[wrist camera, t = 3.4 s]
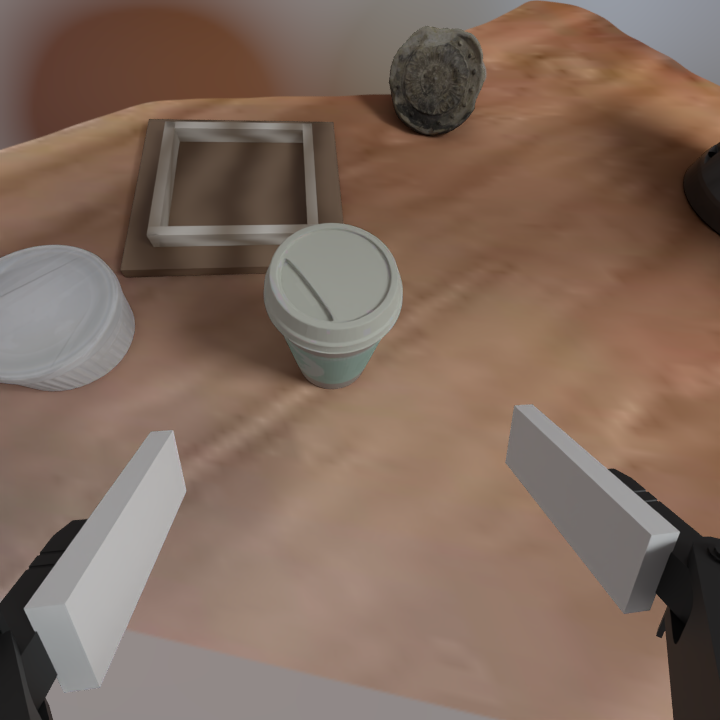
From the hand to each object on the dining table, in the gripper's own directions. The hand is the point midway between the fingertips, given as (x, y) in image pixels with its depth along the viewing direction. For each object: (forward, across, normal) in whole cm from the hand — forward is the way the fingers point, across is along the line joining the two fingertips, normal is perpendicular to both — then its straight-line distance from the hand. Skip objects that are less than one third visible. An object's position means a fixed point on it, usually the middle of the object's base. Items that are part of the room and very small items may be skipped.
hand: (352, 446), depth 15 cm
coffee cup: (+18, 0, -3) cm, 18 cm away
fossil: (+41, +14, +20) cm, 48 cm away
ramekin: (+20, -21, -1) cm, 29 cm away
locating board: (+31, -8, +10) cm, 34 cm away
